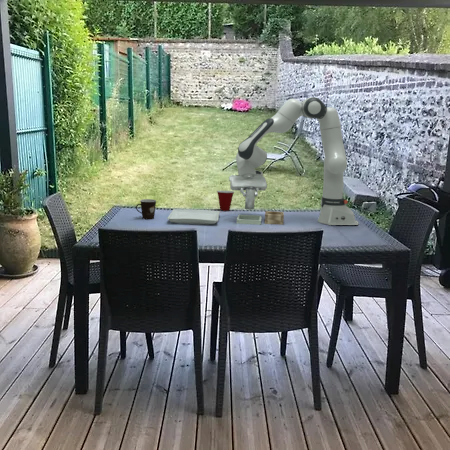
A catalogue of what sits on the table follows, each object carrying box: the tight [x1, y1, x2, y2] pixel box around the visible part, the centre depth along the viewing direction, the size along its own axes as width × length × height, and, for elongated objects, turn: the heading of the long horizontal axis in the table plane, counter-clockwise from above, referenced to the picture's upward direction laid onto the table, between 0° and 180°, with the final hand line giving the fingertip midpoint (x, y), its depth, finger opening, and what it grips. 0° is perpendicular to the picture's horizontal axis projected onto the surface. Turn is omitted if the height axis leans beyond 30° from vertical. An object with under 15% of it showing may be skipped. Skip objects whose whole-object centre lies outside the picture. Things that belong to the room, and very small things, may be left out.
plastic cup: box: [216, 190, 235, 212], centre depth 311 cm, size 11×11×12 cm
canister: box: [244, 186, 256, 211], centre depth 275 cm, size 5×5×12 cm
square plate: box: [166, 208, 221, 225], centre depth 282 cm, size 27×27×4 cm
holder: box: [264, 210, 285, 226], centre depth 278 cm, size 10×10×6 cm
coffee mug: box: [135, 198, 157, 221], centre depth 281 cm, size 12×9×10 cm
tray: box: [236, 214, 263, 225], centre depth 278 cm, size 13×13×3 cm
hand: (250, 195), depth 275 cm, fingers closed on canister, 5 cm apart
